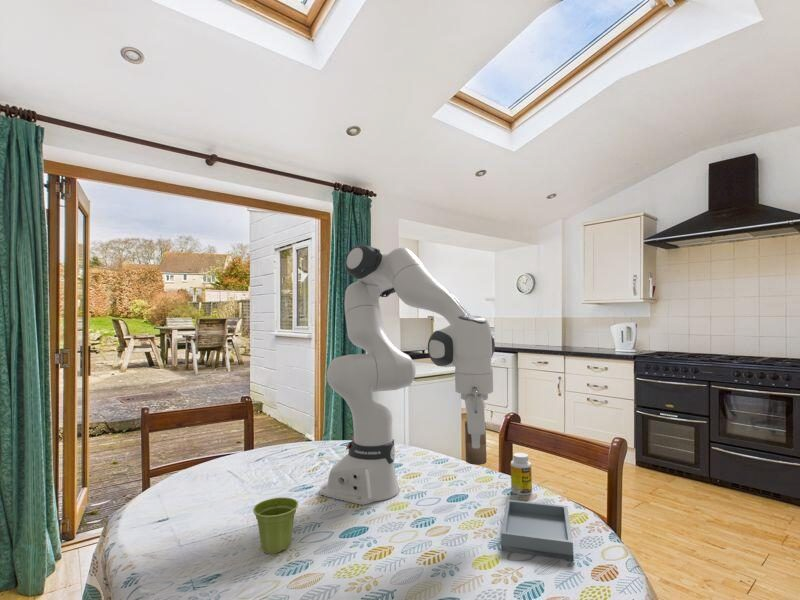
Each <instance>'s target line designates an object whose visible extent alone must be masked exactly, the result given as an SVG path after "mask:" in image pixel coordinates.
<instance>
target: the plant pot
mask: <svg viewBox="0 0 800 600" xmlns="http://www.w3.org/2000/svg"><path fill="white" fill-rule="evenodd" d="M298 506H299V502H298V500H296V499H294V498H290V497H275V498H274V497H273V498H268V499H264V500H263V501H262V500H261V502H258V503H257V504H256V505H254V507H253V510H252V511H253V514H254V515H255V519H256V520H257V527H258V533H259V540H260V541H259V542H260V547H261V548H262V549H261V550H262V551H263V552H264V551H265V552H267V553H266V554H278V553H277V552H279V553H280V552H282V551H287V550H288V549H289V548H290V547H289V546H291V543H292V535H293V529H294V522H295V514H296V512H297V508H299V507H298ZM288 547H289V548H288ZM287 548H288V549H287ZM265 552H264V553H265Z"/></svg>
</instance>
